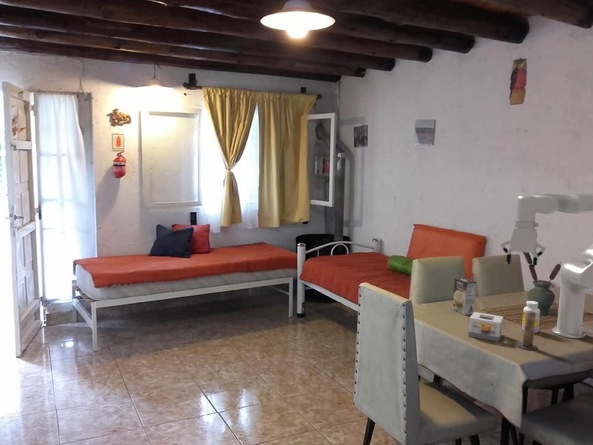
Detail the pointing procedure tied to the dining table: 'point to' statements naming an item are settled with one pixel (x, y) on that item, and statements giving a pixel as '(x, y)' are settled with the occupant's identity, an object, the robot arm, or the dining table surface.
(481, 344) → the dining table surface
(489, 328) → the orange hemisphere
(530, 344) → the brown wooden rod
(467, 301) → the coffee box
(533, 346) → the mat
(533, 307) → the supplement bottle
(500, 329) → the white hollow box
